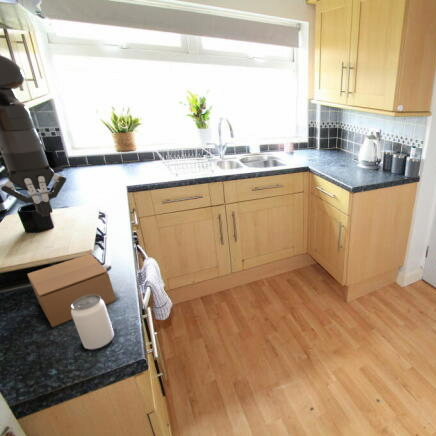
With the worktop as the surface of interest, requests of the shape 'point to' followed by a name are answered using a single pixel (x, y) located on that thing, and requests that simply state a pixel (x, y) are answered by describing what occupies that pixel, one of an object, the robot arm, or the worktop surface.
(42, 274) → the flap
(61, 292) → the carton
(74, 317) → the can
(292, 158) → the worktop surface
